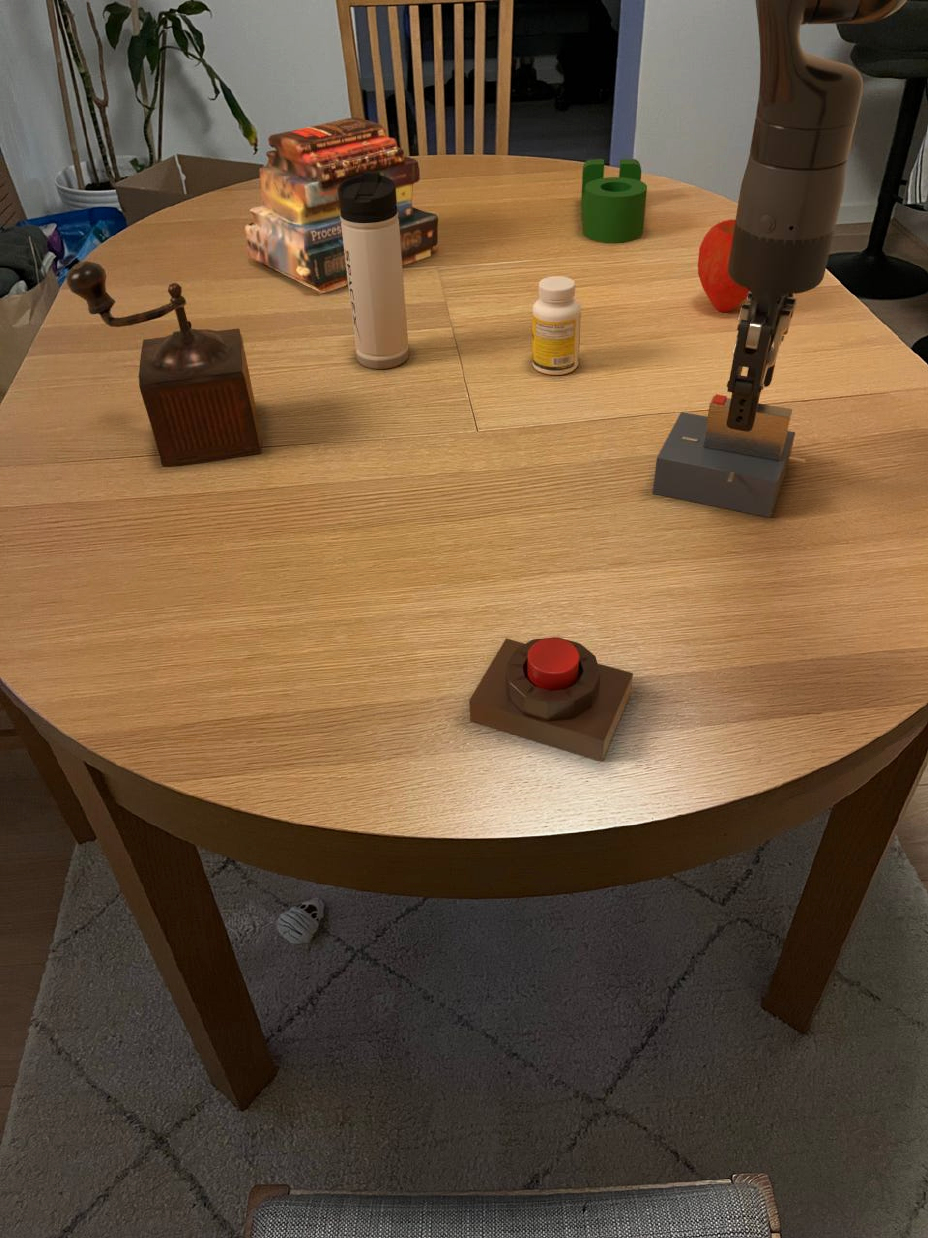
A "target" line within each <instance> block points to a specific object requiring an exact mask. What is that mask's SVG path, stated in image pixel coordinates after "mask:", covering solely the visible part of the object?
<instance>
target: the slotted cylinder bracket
mask: <svg viewBox="0 0 928 1238" xmlns="http://www.w3.org/2000/svg"><path fill="white" fill-rule="evenodd" d="M581 177H582V178H581V195H580V197H581V198H580V209H581V227H582V234H583V236H584V237H585V238H587V239H589V240H591V241H596V242H600V243H608V244H616V243H617V244H618V243H628V242H632V241H634V240H635V241H636V240H637V239H639V238H641V237H642V235H644V225H645V216H646V202H647V194H648V193H647V192H648V185H647V184H646V183H645V182H643V181H642V167H641V163H640V161H639V160H637V159H636V158H620V159H619V172H618V176H609V177H605V159H604V158H599V159H597V158H596V159H595V158H594V159H593V158H592V159H588V160H586V161H584V163H583V166H582V176H581Z"/></svg>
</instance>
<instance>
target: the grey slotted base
mask: <svg viewBox="0 0 928 1238" xmlns="http://www.w3.org/2000/svg"><path fill="white" fill-rule="evenodd" d="M707 418H708V415H707V416H706V415H700V414H697V413H696V414H694V413H689V412H685V411H681V412H680V413H679V415H678V417H677V419H676V421H675V422H674V424H673V426H672V429H671V430H670V432H669V434H668V436H667V438H666V440H665V441H664V443H663V445H662V446H661V449H660V451H659V453H658V454H657V457H656V462H655V472H654V479H653V486H652V494H655V495H659V496H663V497H668V498H673V499H676V500H677V499H678V500H682V501H687V502H692V503H697V504H702V505H707V506H712V507H717V508H721V509H725V510H731V511H736V512H740V513H746V514H750V515H756V516H760V517H765V518H770V519H771V517H772V515H773V512H774V509H775V505H776V503H777V500H778V496H779V494H780V490H781V487H782V485H783V482H784V479H785V477H786V473H787V470H788V466H789V462H790V461H793V462H797V463H804V464H805V462H806V459H805V458H800V457H795V456H791V454H792V449H793V445H794V441H795V435H796V432H795V431H792V430H791V431H790V430H788V431H787V435H786V440H785V444H784V448H783V453H782V455H781V458H780V461H777V460H772V459H766V458H761V457H756V456H750V455H745V454H740V453H735V452H729V451H724V450H719V449H713V448H708V447H703V443H704V437H705V430H706V424H707Z"/></svg>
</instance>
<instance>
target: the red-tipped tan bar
mask: <svg viewBox="0 0 928 1238" xmlns="http://www.w3.org/2000/svg"><path fill="white" fill-rule="evenodd" d="M730 401H731V397H730V398H729V397H728V396H727V395H722V394H717V393H716V394H715V395H713V396H712V398H711V400H710V403H709V406H708V411H707V412H708V414H707V417H708V418H707V424H706V430H705V437H704V443H703V447H708V448H713V449H719V450H724V451H729V452H735V453H740V454H745V455H750V456H756V457H761V458H766V459H772V460H777V461H780V458H781V455H782V453H783V448H784V444H785V440H786V435H787V431H789V426H790V422H791V418H792V417H791V416H792V412H793V409H792V408H789V407H783V406H777V405H771V404H764V403H759V402H758V407H757V412H756V417H755V422H754V425H753V428H752V430H751V431H748V432H745V431H740V430H735V429H730V428H729V427H728V426H727V418H728V413H729V407H730Z"/></svg>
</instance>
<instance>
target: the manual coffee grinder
mask: <svg viewBox="0 0 928 1238" xmlns="http://www.w3.org/2000/svg"><path fill="white" fill-rule="evenodd" d="M65 280H66V284H67V287H68V288H69V290H70V291H71V293H73V294H75V295H77V296H78V297H80V298H81V299H83V300H84V301H85V302H86V304H87V307H88V308H87V310H88V313H89V314H90V315H99V316H100V319H101V320H102V322H103V323H104V324H105V325H107V326H110V327H112V328H113V327H114V328H121V327H129V326H134V325H138V324H142V323H146V322H149V321H152V320H153V321H154V320H156V319H159V318H163V317H164V316H166V315H168V314H169V313H171V312H173V311H174V312H175V316H176V319H177V323H178V327H179V330H176V331H173V332H172V334H170V335H167V336H161V337H153V338H145V339H143V341H142V346H141V349H140V360H139V368H138V369H139V370H138V386H139V390H140V394H141V397H142V400H143V404H144V407H145V411H146V415H147V417H148V420H149V424H150V427H151V431H152V434H153V437H154V441H155V444H156V449H157V452H158V455H159V460H160V464H161V465H162V467H178V466H179V467H180V466H187V465H195V464H201V463H207V462H215V461H221V460H227V459H233V458H240V457H245V456H250V455H255V454H261V452H262V443H263V442H262V435H261V433H262V432H261V424H260V414H259V409H258V408H257V406H256V401H255V397H254V391H253V386H252V381H251V375H250V370H249V365H248V361H247V355H246V350H245V346H244V339H243V335H242V333H241V329H240V328H238V327H237V328H230V329H222V330H214V329H208V328H207V329H203V328H201V329H198V328H197V329H196V328H192V323H191V321H189V320H188V318H187V317H188V316H187V313H186V309H185V306H186V305H187V300H186V298H185V297H184V296H183V295H182V293H183V290H182V289H183V288H182V286H181V285H180V284H179V283H177V282H172V283H170V284H169V285H168V288H167V293H168V294H169V296H170V297H171V298H169V303H166V304H164V305H162V306H160V307H157V308H154V309H151V310H146V311H143V312H139V313H135V314H131V315H128V316H123V317H122V316H121V317H115V316H113V315H112V314H111V311H112V308H113V306H114V305H115V304H116V300H115V299H114V298H113V297H111V295H110V294H109V293H108V292H107V287H106V282H107V274H106V270H105V269H104V268H103V266H102V265H100V264H99V263H96V262H93V261H88V260H83V261H81V262H78V263H75V264H74V265H73V266H72V267H71V268H70V269H69V271H68V272H67V273H66V275H65Z"/></svg>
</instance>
